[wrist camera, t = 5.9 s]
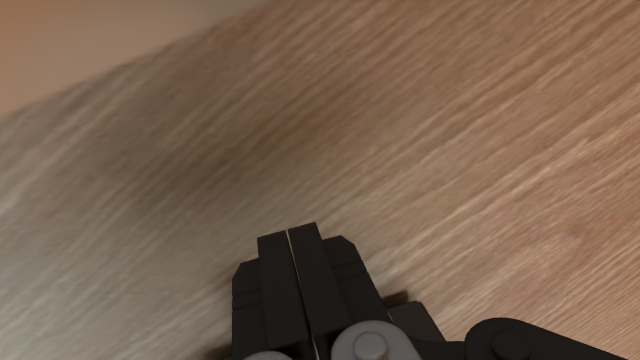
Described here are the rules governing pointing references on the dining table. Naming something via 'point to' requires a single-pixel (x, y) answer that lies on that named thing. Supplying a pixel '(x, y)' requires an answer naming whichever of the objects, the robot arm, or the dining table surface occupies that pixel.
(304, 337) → the robot arm
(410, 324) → the drawer
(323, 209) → the dining table surface
